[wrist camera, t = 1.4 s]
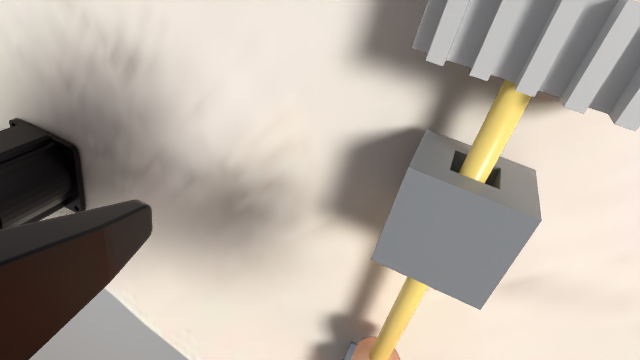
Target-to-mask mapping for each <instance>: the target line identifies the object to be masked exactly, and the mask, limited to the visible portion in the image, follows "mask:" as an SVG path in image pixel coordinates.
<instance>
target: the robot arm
mask: <svg viewBox="0 0 640 360" xmlns="http://www.w3.org/2000/svg"><path fill="white" fill-rule="evenodd" d="M9 124H10V128H8V129H5V130H2V131H0V360H29V359H30V358H31V357H32V356H33V355H34V354H35V353H36V352H37V351H38V350H39V349H40V348H42V346H44V345H45V344H46V343H47V342H48V341H49V340H50V339H51V338H52V337H53V336H54V335H55V334H56V333H57V332H58V331H59V330H60V329H61V328H63V327H64V326H65V325H66V324H67V323H68V322H69V321H70V320H71V319H72V318H73V317H74V316H75V315H76V314H77V313H78V312H79V311H80V310H81V309H83V308H84V307H85V306H86V305H87V304H88V303H89V302H90V301H91V300H92V299H93V298H94V297H95V296H96V295H97V294H98V293H99V292H100V291H101V290H102V289H104V288H105V287H106V286H107V285H108V284H109V283H110V282H111V280H112V279H113V278H114V277H115V276H116V275H117V274H118V273H119V272H120V270H121V269H122V268H123V267H124V266H125V265H126V263H127V262H128V261H129V260H130V259H131V258H132V257H133V255H134V254H135V253H136V252H137V251H138V250H139V248H140V247H141V246H142V245H143V244H144V243H145V241H146V240H147V239H148V238H149V236H150V235H151V232H152V210H151V207H150V206H149V205H148V204H146V203H144V202H142V201H139V200H131V201H126V202H122V203H118V204H113V205H109V206H104V207H100V208H95V209H91V210H87V211H85V201H84V193H83V185H82V178H81V170H80V162H79V154H78V150H77V148H76V147H75V146H74V145H73V144H71V143H69V142H66V141H64V140H62V139H60V138H58V137H56V136H54V135H52V134H49V133H47V132H45V131H43V130H41V129H39V128H37V127H35V126H33V125H30V124H28V123H26V122H24V121H22V120H20V119H18V118H15V119H12V120H10V121H9ZM63 207H66V208H68V209H70V210H72V211H74V212H76V213H73V214H69V215H65V216H60V217H56V218H51V219H47V220H43V221H40V220H42V219H43V218H45V217H47V216H49V215H51V214H52V213H54V212H56V211H58V210H59V209H61V208H63Z"/></svg>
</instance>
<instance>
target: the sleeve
mask: <svg viewBox="0 0 640 360" xmlns="http://www.w3.org/2000/svg"><path fill="white" fill-rule="evenodd" d="M471 147H472V146H470V145H467V144H465V143H462V142H459V141H457V140H454V139H451V138H449V137H446V136H443V135H441V134H438V133H435V132H433V131H430V130H427V129H426V131H425V134H424V136H423V138H422V140H421V142H420V144H419V146H418V148H417V150H416V152H415V154H414V156H413V158H412V161H411V163H410V165H409V167H408V169H407V172H406V174H405V177H404V179H403V181H402V184H401V186H400V189H399V191H398V194H397V196H396V199H395V201H394V203H393V206H392V208H391V211H390V213H389V216H388V218H387V221H386V223H385V226H384V228H383V230H382V233H381V235H380V238H379V240H378V243H377V245H376V248H375V250H374V253H373V255H372V257H371V260H373V261H375V262H377V263H379V264H381V265H384V266H386V267H388V268H390V269H392V270H394V271H397V272H399V273H401V274H403V275H405V276H408V277H410V278H412V279H414V280H416V281H418V282H421V283H423V284H425V285H427V286H429V287H432V288H434V289H436V290H438V291H440V292H442V293H445V294H447V295H449V296H451V297H453V298H456V299H458V300H460V301H462V302H464V303H466V304H469V305H471V306H473V307H475V308H477V309H479V310H481V308H482V307H483V305H484V304H485V302H486V301H487V300H488V298H489V297H490V295H491V294H492V292H493V291H494V289H495V288H496V286H497V285H498V283H499V282H500V281H501V279H502V278H503V276H504V275H505V273H506V272H507V270H508V269H509V267H510V266H511V264H512V263H513V262H514V260H515V259H516V257H517V256H518V254H519V253H520V251H521V250H522V248H523V247H524V245H525V244H526V243H527V241H528V240H529V238H530V237H531V235H532V234H533V232H534V231H535V229H536V228H537V226H538V225H539V224H540V222H541V221H542V220H541V212H540V203H539V195H538V187H537V179H536V170H534V169H532V168H529V167H526V166H523V165H521V164H518V163H515V162H513V161H510V160H507V159H505V158H502V157H499V158H498V160H497V162H496V164H495V165H494V167H493V169H492V171H491V173H490V174H489V176H488V178H487V180H486V182H485V183H482V182H479V181H477V180H474V179H472V178H469V177H467V176H464V175H462V174H459V171H460V169H461V167H462V165H463V163H464V161H465V159H466V157H467V155H468V153H469V151H470V149H471Z"/></svg>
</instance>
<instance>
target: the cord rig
mask: <svg viewBox="0 0 640 360" xmlns="http://www.w3.org/2000/svg"><path fill="white" fill-rule="evenodd" d="M412 49H415V50H418V51H421V52H424V53H427V54H428V55H427V58H426V61H428V62H431V63H434V64H437V65H440V66H443V65H444V64H445V62H446V60H448V61H451V62H454V63H457V64H460V65H463V66H466V67H469V68H472V69H471V72H470V76H473V77H476V78H479V79H482V80H485V81H488V79H489V77H490V75H493V76H496V77H499V78H502V79H505V80H504V82H503V84H502V86H501V88H500V90H499V92H498V94H497V96H496V98H495V100H494V102H493V104H492V106H491V109H490V111H489V113H488V115H487V117H486V119H485V121H484V123H483V125H482V127H481V129H480V131H479V133H478V135H477V137H476V139H475V141H474V143H473V145H472V147H471V149H470V151H469V153H468V155H467V157H466V159H465V161H464V163H463V165H462V167H461V169H460V171H459V174H462V175H464V176H467V177H469V178H472V179H474V180H477V181H479V182H482V183H485V182H486V180H487V178H488V176H489V174H490V173H491V171H492V169H493V167H494V165H495V164H496V162H497V160H498V158H499V156H500V154H501V153H502V151H503V149H504V147H505V145H506V143H507V142H508V140H509V138H510V136H511V134H512V132H513V131H514V129H515V127H516V125H517V123H518V121H519V120H520V118H521V116H522V114H523V112H524V110H525V109H526V107H527V105H528V103H529V101H530V99H531V98H532V97H535V95H536V94H537V92H538V91H541V92H544V93H547V94H550V95H553V96H556V97H559V98H561V101H562V104H563V107H565V108H568V109H571V110H574V111H577V112H579V113H582V114H584V113H585V111H586V110H587V108H588V107H589V108H592V109H595V110H598V111H601V112H604V113H607V114H608V115H609V116H610V118H611V120H612V121H613V123H614V124H615V125H618V126H621V127H624V128H627V129H630V130H633V131H636V130H637V129H638V127H639V126H640V0H428V2H427V5H426V8H425V11H424V14H423V17H422V20H421V22H420V25H419V28H418V31H417V34H416V37H415V40H414V43H413V46H412ZM427 288H428V286H427V285H425V284H423V283H421V282H418V281H416V280H414V279H412V278H410V277H408V276H407V278H406V281H405V283H404V285H403V287H402V289H401V291H400V293H399V295H398V297H397V299H396V301H395V303H394V305H393V307H392V309H391V311H390V313H389V315H388V317H387V319H386V321H385V323H384V325H383V327H382V329H381V331H380V333H379V335H378V337H367V338H364V339H362V340H361V341H360V342H359V343H358V344H357V345H356V344H354V343H352V342H351V345H350V347H349V349H348V351H347V354H346V356H345V358H344V360H400V357H399V355H398V353H397V351H396V350H395V347H396V345H397V343H398V341H399V339H400V337H401V336H402V334H403V332H404V330H405V328H406V326H407V325H408V323H409V321H410V319H411V317H412V315H413V314H414V312H415V310H416V308H417V306H418V304H419V303H420V301H421V299H422V297H423V295H424V293H425V292H426V290H427Z"/></svg>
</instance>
